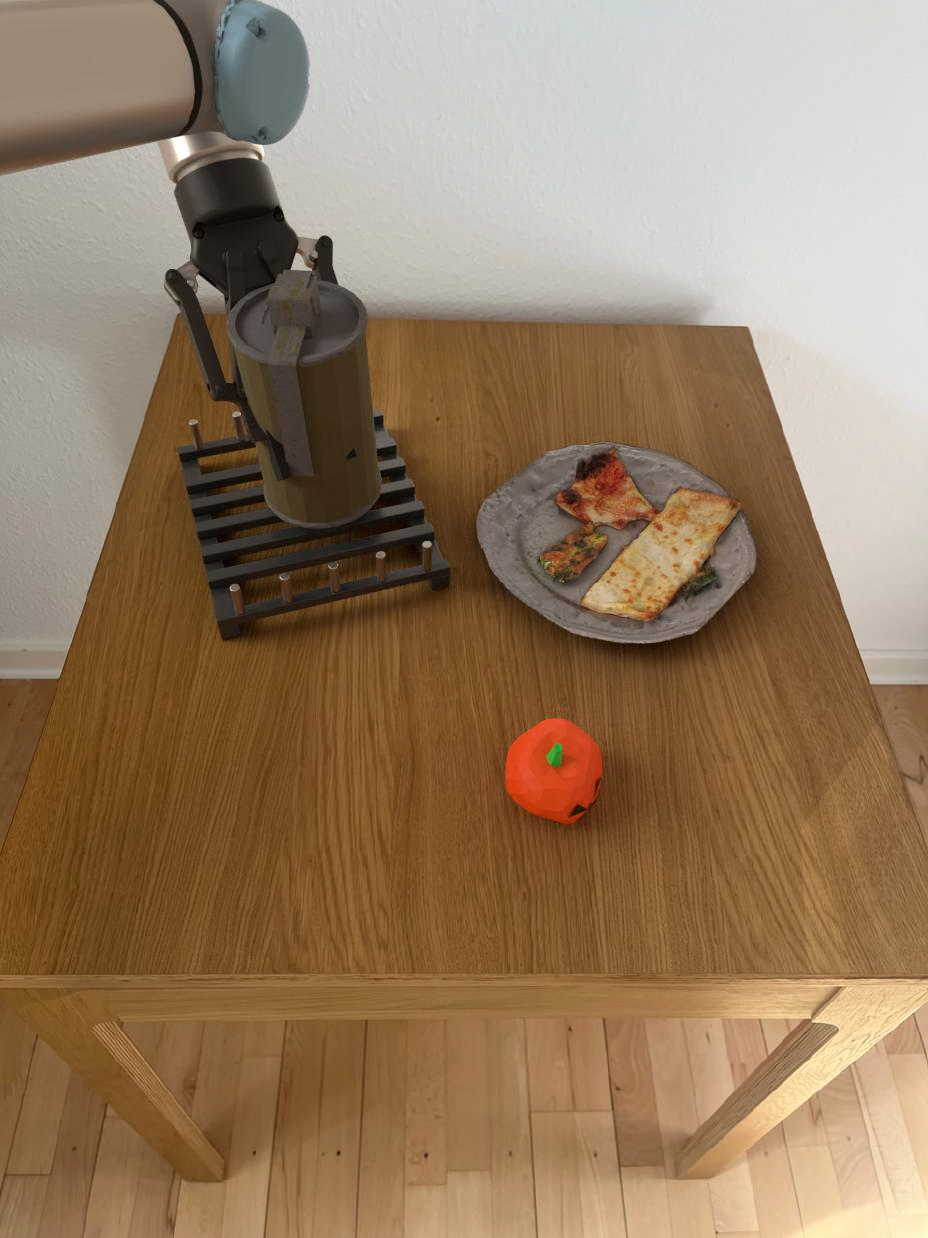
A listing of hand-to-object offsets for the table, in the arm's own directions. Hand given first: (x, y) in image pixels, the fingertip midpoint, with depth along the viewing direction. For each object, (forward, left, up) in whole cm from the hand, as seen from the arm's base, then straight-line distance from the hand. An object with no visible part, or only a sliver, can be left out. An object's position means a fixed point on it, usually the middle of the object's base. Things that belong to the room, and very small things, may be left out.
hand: (316, 468), depth 76 cm
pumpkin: (+10, -27, -11) cm, 31 cm away
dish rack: (-1, +5, -11) cm, 12 cm away
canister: (+1, +4, -6) cm, 8 cm away
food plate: (+25, -6, -11) cm, 29 cm away
